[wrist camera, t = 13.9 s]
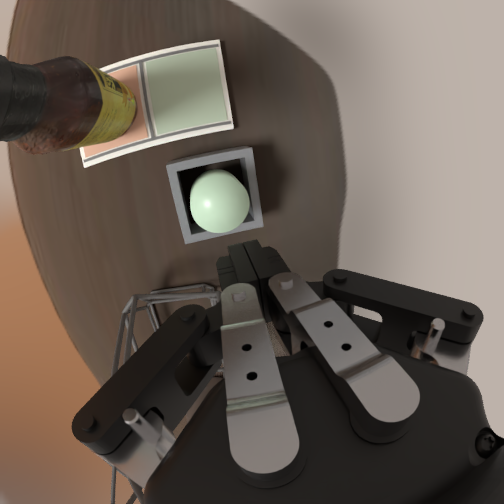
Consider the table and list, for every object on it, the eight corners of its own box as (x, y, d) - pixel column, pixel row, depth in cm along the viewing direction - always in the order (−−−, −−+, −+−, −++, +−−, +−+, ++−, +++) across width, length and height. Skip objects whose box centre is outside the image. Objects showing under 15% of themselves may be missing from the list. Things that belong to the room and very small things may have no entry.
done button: (244, 212, 27) (253, 226, 24) (196, 223, 27) (197, 238, 23) (236, 164, 25) (244, 170, 22) (185, 175, 25) (184, 183, 21)
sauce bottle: (148, 89, 21) (60, 14, 4) (127, 148, 23) (6, 200, 6) (92, 78, 19) (-42, 31, 2) (73, 135, 21) (-76, 174, 4)
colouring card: (232, 128, 26) (234, 128, 25) (86, 167, 24) (83, 168, 23) (218, 41, 21) (219, 39, 20) (71, 82, 19) (68, 81, 18)
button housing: (256, 216, 30) (263, 226, 27) (185, 232, 29) (185, 244, 26) (245, 145, 27) (252, 147, 24) (168, 161, 26) (166, 165, 23)
